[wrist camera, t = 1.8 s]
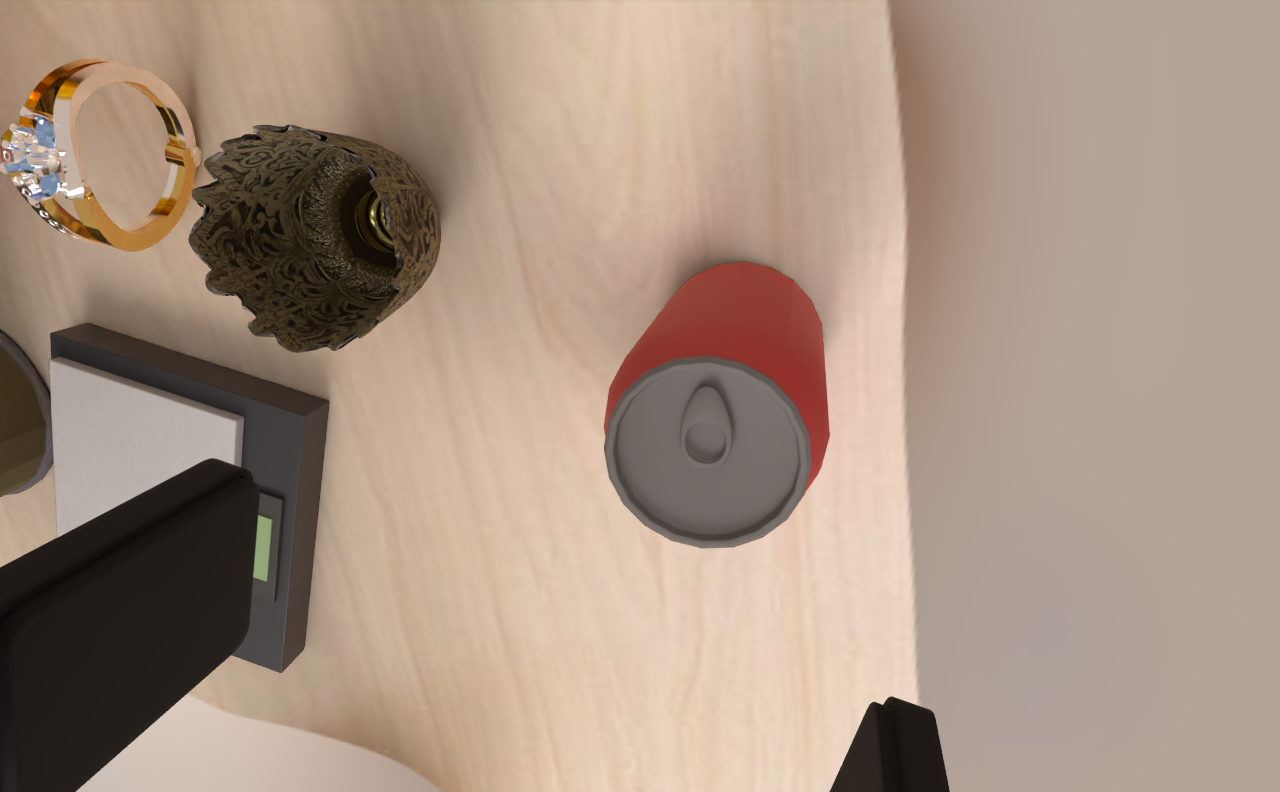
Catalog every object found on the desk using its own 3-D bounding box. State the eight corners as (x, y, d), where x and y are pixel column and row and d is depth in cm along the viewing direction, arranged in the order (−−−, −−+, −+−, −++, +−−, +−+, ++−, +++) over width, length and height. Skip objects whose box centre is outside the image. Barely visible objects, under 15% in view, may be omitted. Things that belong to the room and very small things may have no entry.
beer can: (830, 262, 30) (843, 345, 19) (817, 421, 32) (821, 579, 21) (661, 256, 31) (582, 331, 20) (660, 410, 34) (587, 553, 23)
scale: (86, 322, 38) (37, 336, 36) (329, 400, 37) (296, 420, 34) (92, 573, 44) (50, 600, 41) (304, 649, 42) (274, 681, 40)
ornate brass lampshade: (523, 230, 32) (438, 263, 25) (408, 336, 35) (300, 394, 27) (400, 82, 31) (273, 71, 24) (291, 203, 34) (147, 227, 26)
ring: (159, 60, 33) (-29, 43, 26) (227, 78, 33) (57, 66, 25) (160, 224, 36) (-11, 251, 28) (223, 242, 35) (67, 274, 28)
